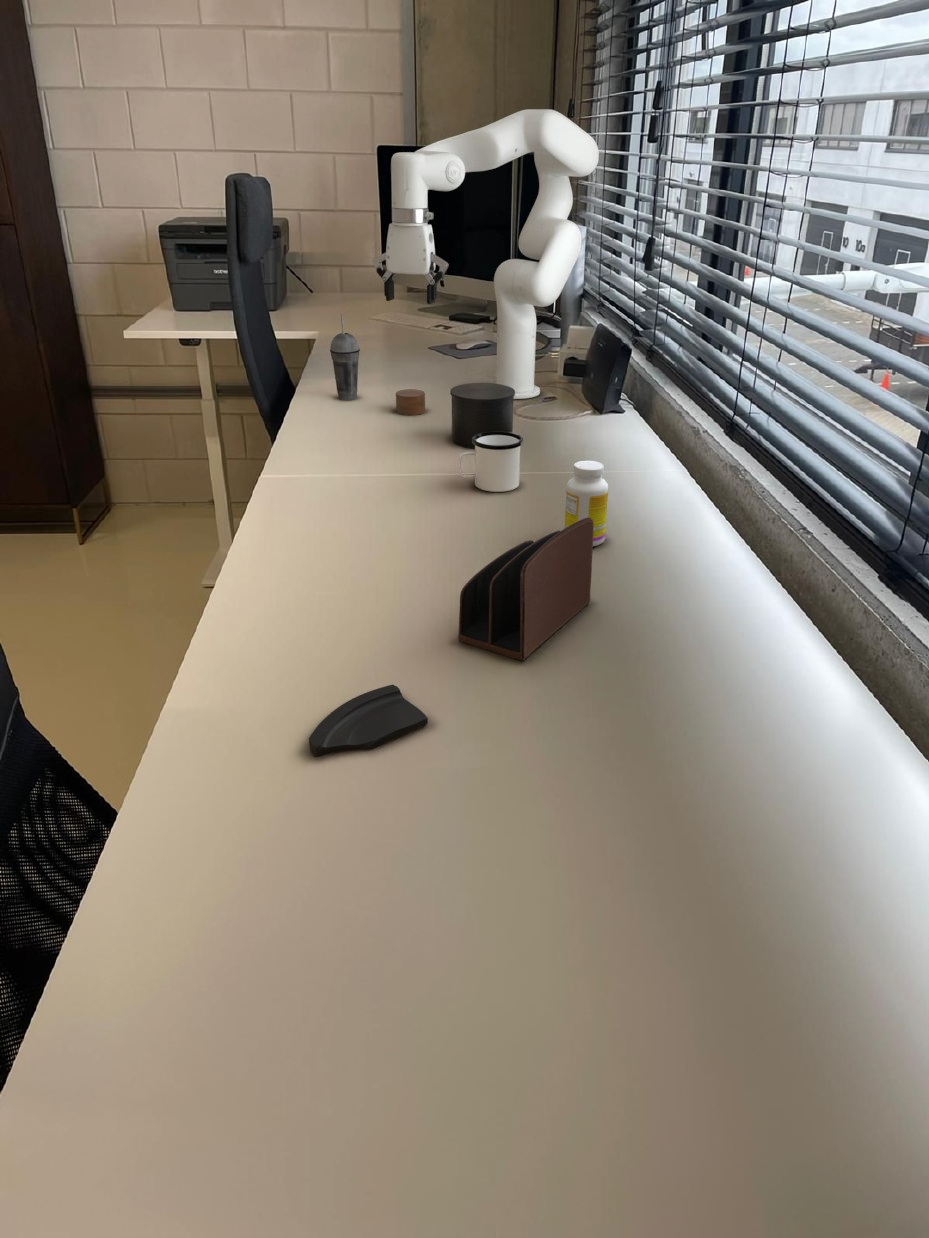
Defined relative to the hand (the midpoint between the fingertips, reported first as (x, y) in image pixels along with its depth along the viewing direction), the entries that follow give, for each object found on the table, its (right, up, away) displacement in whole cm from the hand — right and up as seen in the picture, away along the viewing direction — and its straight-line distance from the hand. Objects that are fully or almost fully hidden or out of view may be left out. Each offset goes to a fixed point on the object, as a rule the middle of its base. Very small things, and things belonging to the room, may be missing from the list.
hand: (410, 301), depth 208 cm
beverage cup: (-17, -15, +25) cm, 34 cm away
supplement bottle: (+32, -57, -53) cm, 84 cm away
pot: (+16, -31, -5) cm, 35 cm away
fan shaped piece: (+1, -82, -100) cm, 130 cm away
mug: (+17, -45, -30) cm, 57 cm away
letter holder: (+20, -70, -78) cm, 107 cm away
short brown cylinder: (-1, -21, +15) cm, 26 cm away
